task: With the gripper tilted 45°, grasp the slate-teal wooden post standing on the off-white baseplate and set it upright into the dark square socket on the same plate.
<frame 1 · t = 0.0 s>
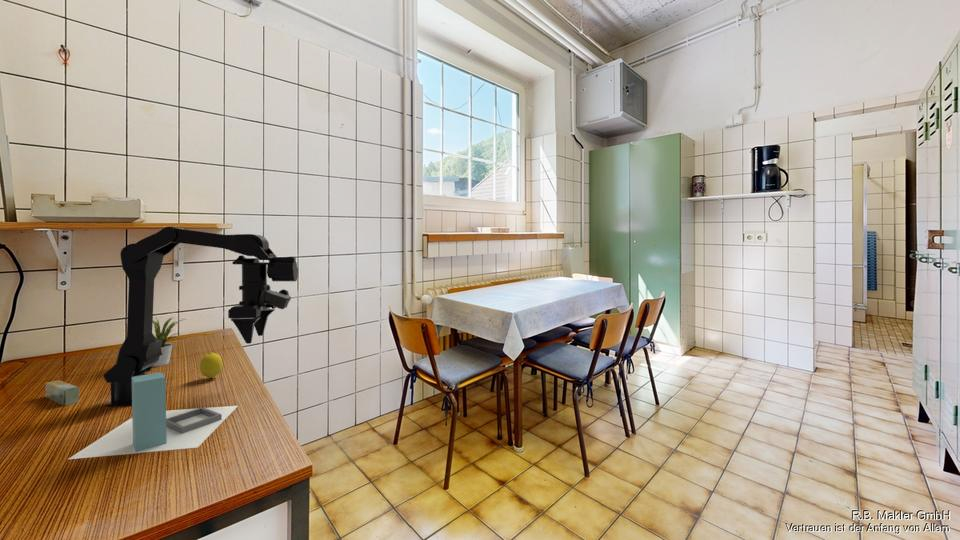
hand: (254, 339, 101), 15 cm above the table, tool pointing down, fingers open, 9 cm apart
baseplate: (166, 432, 79), on the table
lemon: (211, 379, 112), on the table
post: (149, 443, 72), point 1 cm above the table, touching baseplate
house plant: (163, 363, 126), on the table
socket: (192, 422, 81), resting on baseplate
medication box: (62, 400, 95), on the table
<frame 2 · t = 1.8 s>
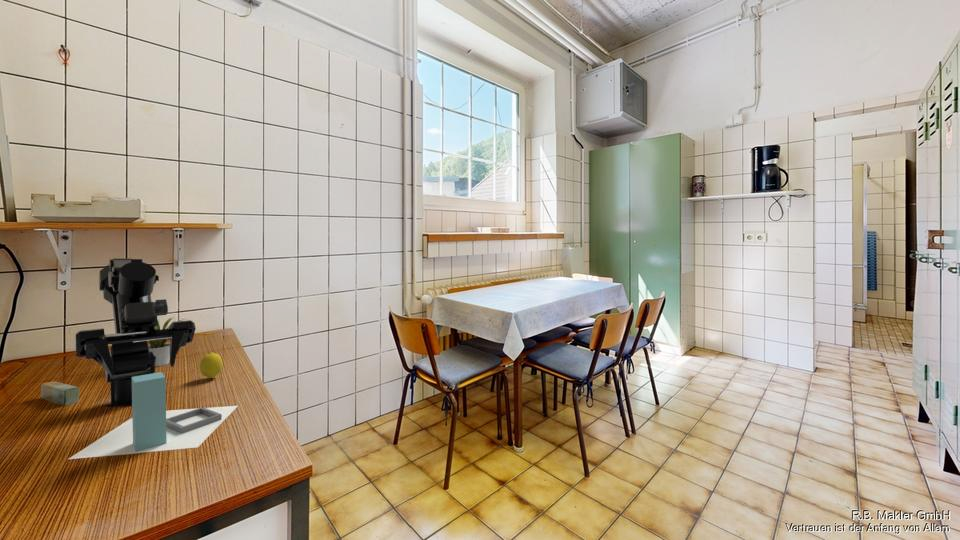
hand: (144, 370, 77), 13 cm above the table, tool tilted 45°, fingers open, 9 cm apart
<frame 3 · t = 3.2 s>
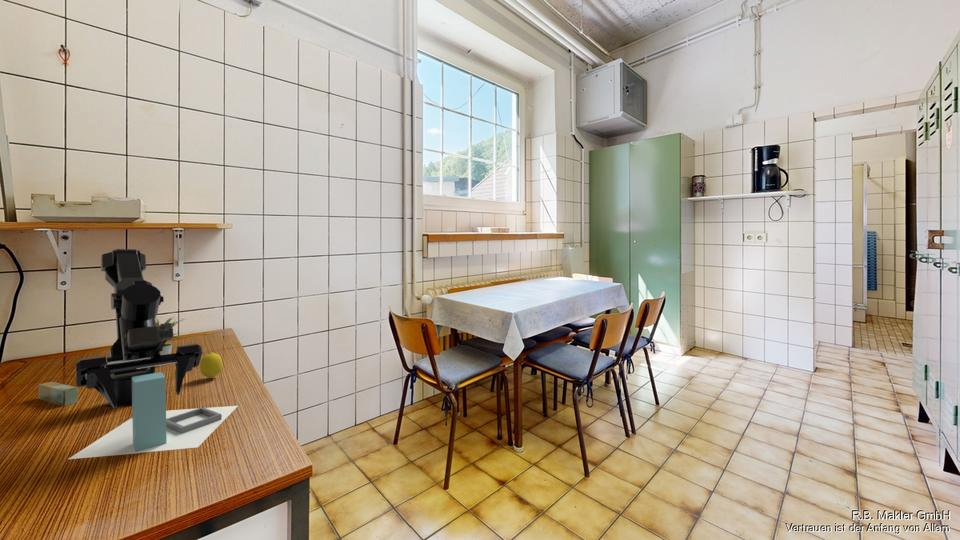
hand: (148, 400, 72), 9 cm above the table, tool tilted 45°, fingers open, 9 cm apart
nothing on the table moved.
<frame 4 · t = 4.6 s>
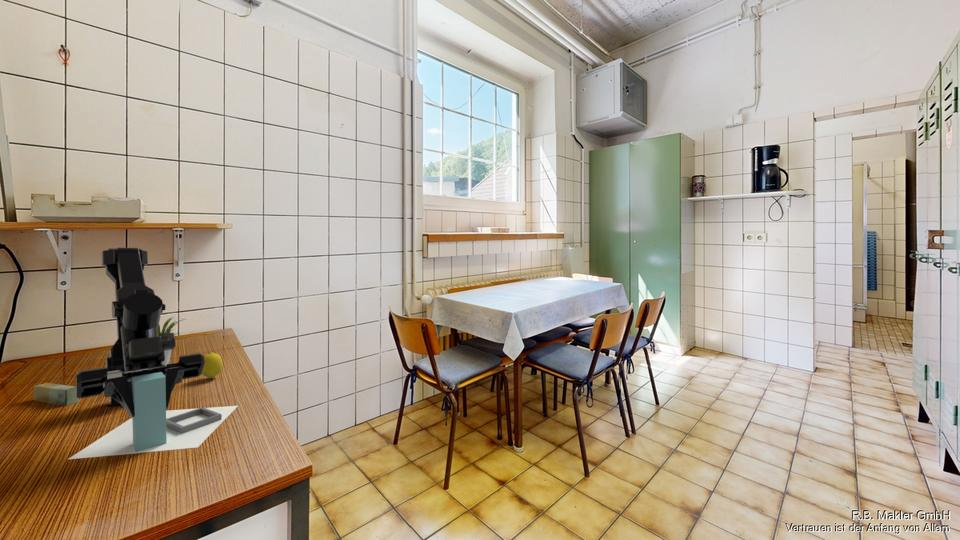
hand: (150, 412, 71), 8 cm above the table, tool tilted 45°, fingers closed on post, 4 cm apart
post: (149, 443, 72), point 1 cm above the table, touching baseplate, gripper
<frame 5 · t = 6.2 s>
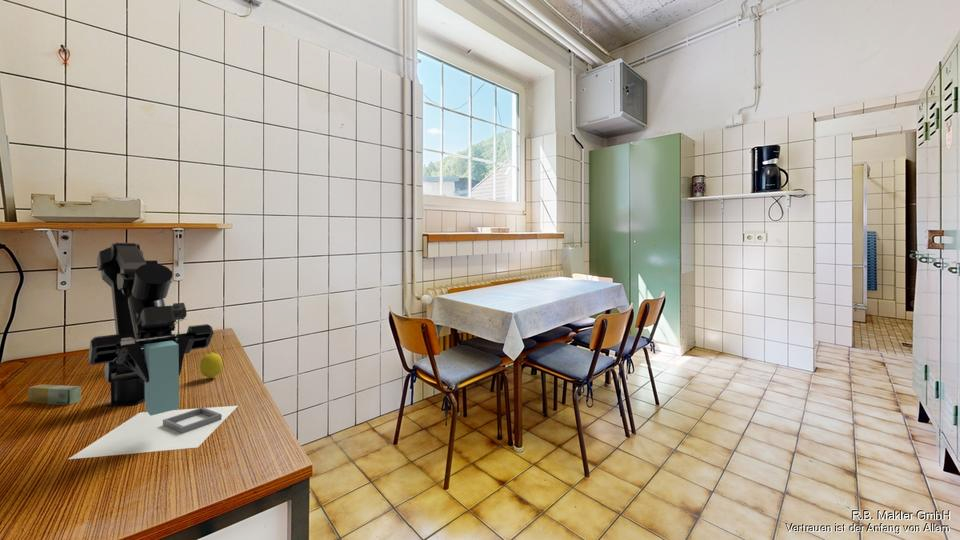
hand: (163, 378, 73), 13 cm above the table, tool tilted 45°, fingers closed on post, 4 cm apart
post: (162, 408, 74), point 7 cm above the table, touching gripper
when the fingers open (9 cm above the table, at t = 8.2 s): post drops 1 cm, resting on baseplate.
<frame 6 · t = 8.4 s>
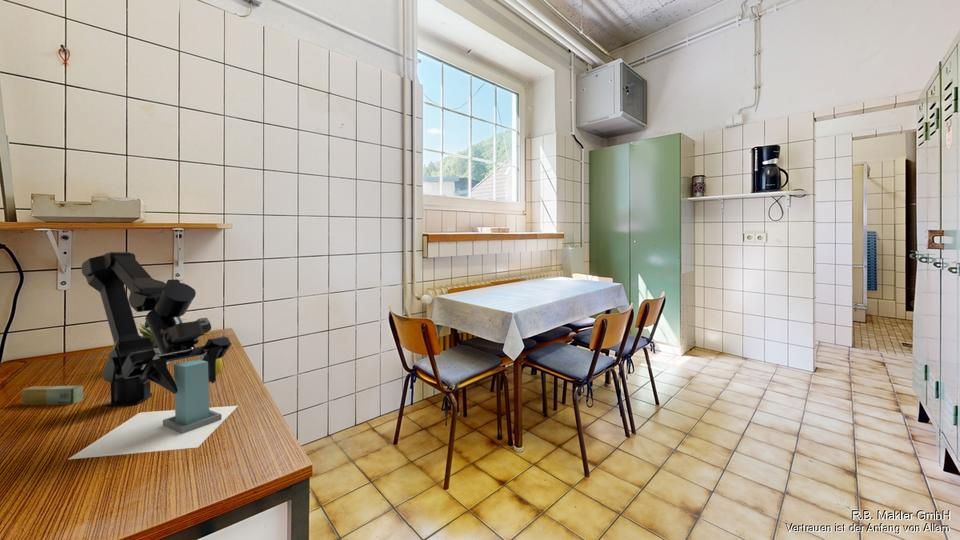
hand: (195, 387, 80), 9 cm above the table, tool tilted 45°, fingers open, 7 cm apart
post: (192, 422, 81), point 1 cm above the table, touching baseplate
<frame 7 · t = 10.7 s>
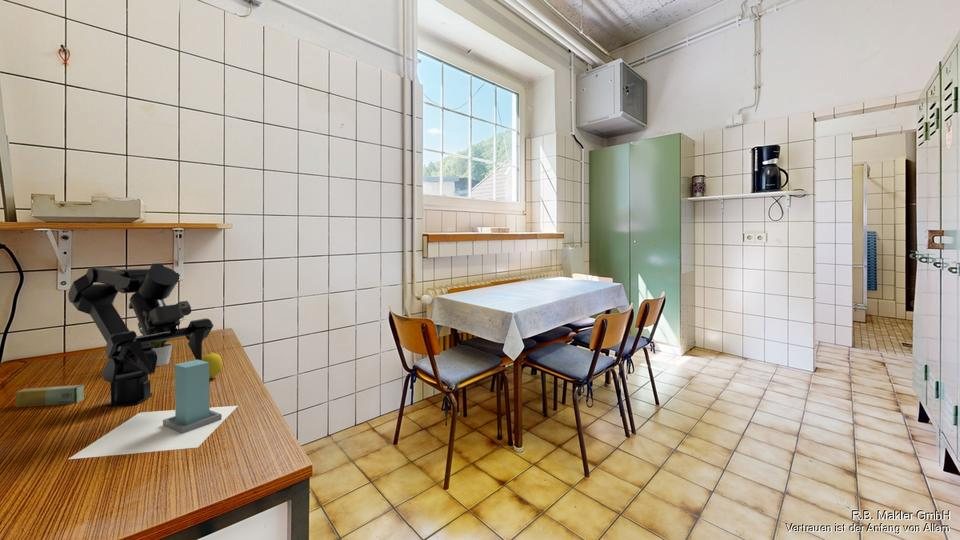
hand: (177, 367, 84), 12 cm above the table, tool tilted 40°, fingers open, 9 cm apart
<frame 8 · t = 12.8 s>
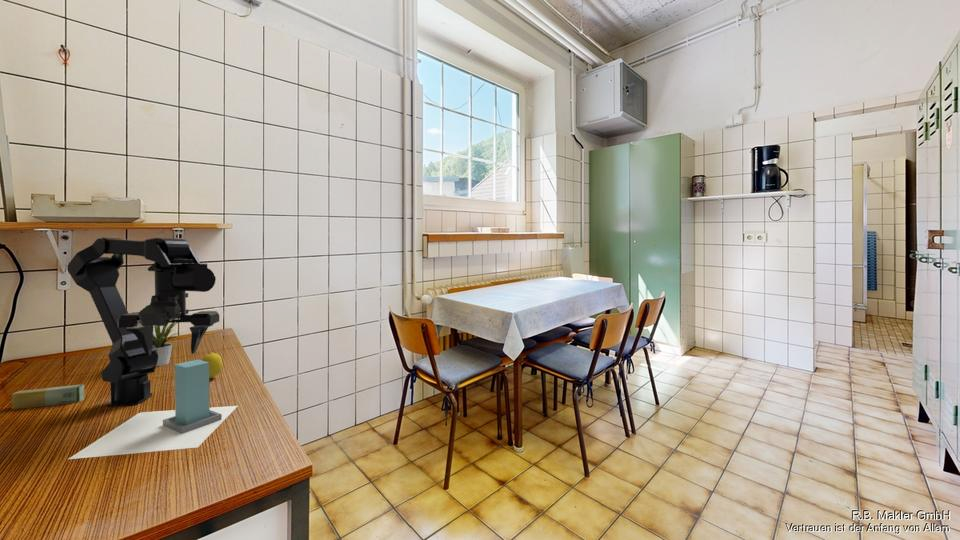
hand: (171, 354, 91), 13 cm above the table, tool pointing down, fingers open, 9 cm apart
at the end: post 0.1 cm off-centre on the socket, point 0.0 cm above the socket's base; post tilted 0°; the gripper is holding nothing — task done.
